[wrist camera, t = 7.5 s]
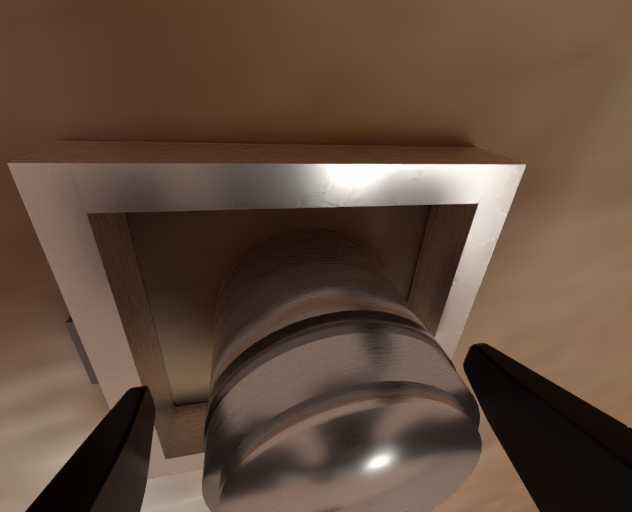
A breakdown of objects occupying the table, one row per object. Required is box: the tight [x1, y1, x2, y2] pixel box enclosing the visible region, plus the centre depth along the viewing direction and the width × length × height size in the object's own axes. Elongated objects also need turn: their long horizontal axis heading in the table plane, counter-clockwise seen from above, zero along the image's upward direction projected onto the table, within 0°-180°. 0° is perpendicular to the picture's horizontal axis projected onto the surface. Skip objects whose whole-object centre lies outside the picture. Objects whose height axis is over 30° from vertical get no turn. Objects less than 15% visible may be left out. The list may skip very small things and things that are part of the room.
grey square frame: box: [7, 140, 526, 479], centre depth 10 cm, size 12×11×2 cm
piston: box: [202, 229, 482, 512], centre depth 9 cm, size 6×6×6 cm
